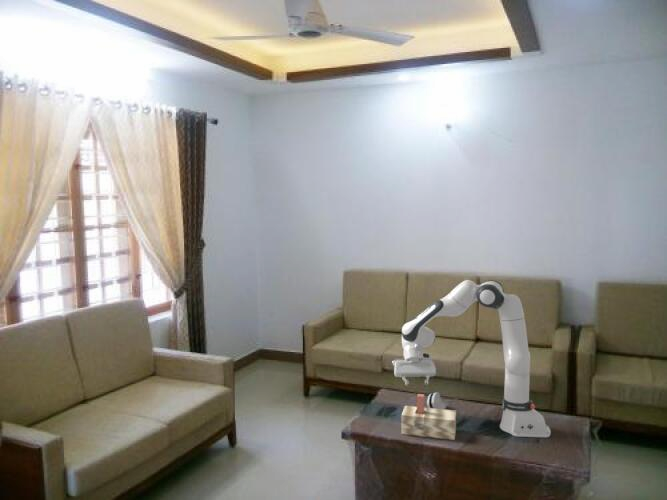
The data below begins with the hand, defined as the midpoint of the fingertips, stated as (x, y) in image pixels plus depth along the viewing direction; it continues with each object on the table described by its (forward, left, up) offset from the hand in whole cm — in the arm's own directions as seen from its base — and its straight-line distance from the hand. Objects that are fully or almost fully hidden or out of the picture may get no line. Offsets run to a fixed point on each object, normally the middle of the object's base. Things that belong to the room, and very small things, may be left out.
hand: (416, 384), depth 268 cm
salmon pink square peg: (-3, +8, -16) cm, 18 cm away
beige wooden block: (-7, +8, -19) cm, 22 cm away
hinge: (-8, -18, -20) cm, 27 cm away
